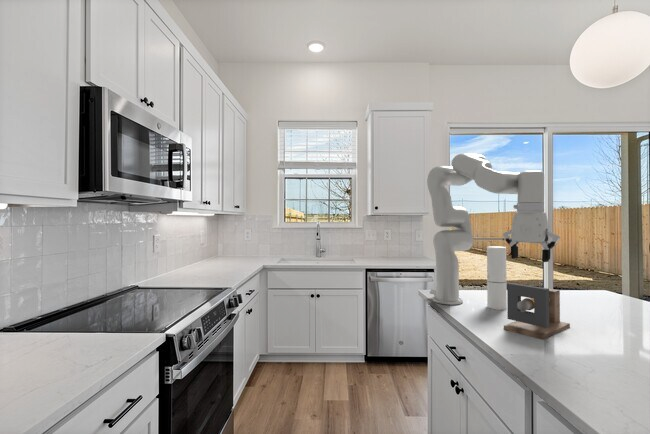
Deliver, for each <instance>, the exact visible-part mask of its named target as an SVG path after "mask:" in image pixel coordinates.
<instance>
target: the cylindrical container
mask: <svg viewBox="0 0 650 434" xmlns="http://www.w3.org/2000/svg"><path fill="white" fill-rule="evenodd" d="M486 260H487V261H486V263H487V264H486V270H487V271H486V279H487V280H486V282H487V283H486V285H487V288H486V293H487V295H486V298H487V299H486V302H487V304H486V307H487V308H489V309H491V310H492V309H493V310H498V311H499V310H501V311H504V310H507V246H500V245H498V246H497V245H495V246H494V245H492V246H491V245H490V246H486Z"/></svg>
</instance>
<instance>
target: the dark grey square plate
mask: <svg viewBox="0 0 650 434" xmlns="http://www.w3.org/2000/svg"><path fill="white" fill-rule="evenodd" d="M506 285H507V309H506V311H507V312H506V313H507V316H506V317H507V320H510V321H513V322H515V321H518V322H523V323H527V324H531V325H535V326H539V327H544V328H548V327H549V289H550V288H549V287H548V288H547V287H542V286H541V287H542V288H541V287H540V286H535V285H534V286H532V285H527V284H520V283H513V282H506ZM522 297H523V298H533V299H534V309H533V311H530V310H526V311H521V310H519V309H518V307H517V303H518V302H519V301H522Z"/></svg>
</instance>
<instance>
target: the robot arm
mask: <svg viewBox="0 0 650 434" xmlns="http://www.w3.org/2000/svg"><path fill="white" fill-rule="evenodd" d="M472 181H474V183H475V185H476V186H477V187H479V188H481V189H483V190H485V191H487V192H490V193H492V194H499V195H502V194H503V195H504V194H505V195H517V203H516V204H513V209H514V210H515V209H516V211H515V212H514V213H513V218H512V224H511V229H509V230H507V231H505V232H503V233H502V236H503V238H504V239H505V242H506V243H507V244H508V245H509V247H510V256H511V259H517V258H518V257H519V247H518V244H519V243H525V244H528V243H529V244H540V246H541V247H543V249H542V251H541V252H542V253H541V254H542V255H541V261H542V263H548V262H550V260H551V249H553V248H554V247H555V246H557V244H558V243H559V241H560V239H561V236H560V235H558V234H556V233H555V232H553V231H550V229H549V222H548V221H549V220H548V216H547V212H545V173H544V171H542V170H536V169H535V170H532V169H531V170H523V171H520V172H512V171H497V170H494V169H493V165H492V163H491V162H490V161H488V160H487V158H486V157H485V155H482V154H480V153H479V154H477V153H466V152H465V153H463V152H462V153H458V154H456V155H455V156H454V157H453V158H452V159H451V166H450V165H449V166H448V165H440V166H439V165H438V166H435V167H432V169H430V170H429V172H428V175H427V179H426V183H427V184H426V185H427V189H428V191H429V195H430V198H431V206H432V207H431V208H432V214H433V221H434V224H435V225H436V226H437V227H439V228H454V229H444V230H440V231H437V232H436V233H435V234H434V236H433V247H434V252H435V287H436V288H431V289H430V291H429V294H431V295H434V296H433V297H432V301H433V302H434V303H437V304H439V305H440V304H442V305H451V306H452V305H453V306H455V305H456V306H457V305H461V304H463V303H464V300H463V299H462V298H461V297H460V282H459V281H460V278H459V277H460V271H459V269H460V265H459V263H460V262H459V258H458V257H457V255H456V253H455V252H464V251H469V250H470V249H471V248H472V247H473V244H474V237H473V235H474V234H473V230H472V223H471V216H470V214H469V211H468V210H467V208H465V207H463V206H459V205H455V206H454V205H453V200H452V197H451V194H450V192H449V191H448V189H447V188H446V187H445V186H459V187H460V186H464V185H467V184H468V183H470V182H472ZM550 238H552V240H551V241H550V242H549V240H550Z"/></svg>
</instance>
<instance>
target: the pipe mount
mask: <svg viewBox="0 0 650 434" xmlns="http://www.w3.org/2000/svg"><path fill="white" fill-rule="evenodd" d="M541 288H543V287H542V286H541ZM548 289H549V327H548V328H544V327H539V326H535V325H531V324H527V323H523V322H518V321H512V322H510V323H507V324H504V325H503V330H506V331H510V332H513V333H517V334H520V335H525V336H527V337H528V336H529V337H531V338H535V339H540V340H545V339H547V338H549V337H551V336H553V335H555V334H556V335H557V334H558V333H560V332H562V331H565V330H566V328H567V329H570V328H571V324H570V323H569V322H565V321H561V308H560V306H561V301H560V299H561V296H560V294H561V292H560V291H561V290H559V289H554V288H548ZM517 307H518V309H519V310H521V311H532V310H534V299H533V298H528V297H524V299H521V301H519V302H518V303H517ZM564 329H565V330H564Z"/></svg>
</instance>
